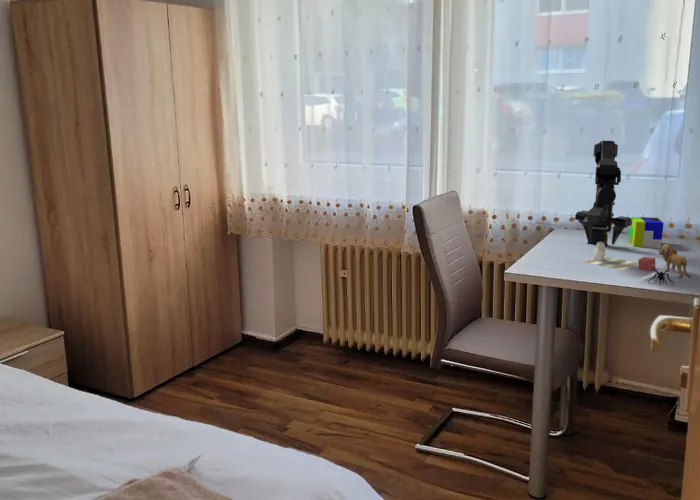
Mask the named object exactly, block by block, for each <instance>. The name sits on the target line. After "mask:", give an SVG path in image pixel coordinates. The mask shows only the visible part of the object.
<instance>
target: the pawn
mask: <svg viewBox="0 0 700 500" xmlns="http://www.w3.org/2000/svg"><path fill="white" fill-rule="evenodd" d="M606 247H607V246H605V244H604V243H603V242H598V243H597V244H596V245H594V253H593V254H594V255H593V259H594V260H595V261H604V260H605V256H606Z"/></svg>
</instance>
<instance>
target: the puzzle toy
mask: <svg viewBox="0 0 700 500" xmlns="http://www.w3.org/2000/svg"><path fill="white" fill-rule="evenodd" d="M630 218H631V220H632V225H631V226H629V234H628V236H629V237H628V242H629V243H630V244H631V245H632V246H633V247H636V248H654V249H655V248H656V249H657V248H658V249H661V248H662V241H663V233H664V230H663V229H664V222H663V221H662V220H661V219H660V218H659V217H644V216H643V217H642V216H631V217H630Z"/></svg>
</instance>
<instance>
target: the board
mask: <svg viewBox="0 0 700 500" xmlns="http://www.w3.org/2000/svg"><path fill="white" fill-rule="evenodd" d="M584 263H585V264H586V263H587V264H591V265H597V266H600V267H605V268H611V269H616V270H619V271H626V270H628V269H630V268H633V267H636V266H639V265H638V262H636V261H630V260H627V259H626V260H625V259H621V258H614V257H610V256H606V255H605V260H604V261H595V260H594V258H590V259H589V260H586V261H584Z"/></svg>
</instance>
